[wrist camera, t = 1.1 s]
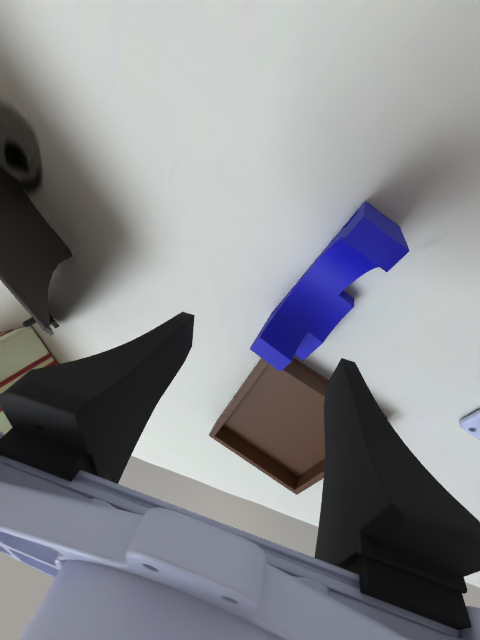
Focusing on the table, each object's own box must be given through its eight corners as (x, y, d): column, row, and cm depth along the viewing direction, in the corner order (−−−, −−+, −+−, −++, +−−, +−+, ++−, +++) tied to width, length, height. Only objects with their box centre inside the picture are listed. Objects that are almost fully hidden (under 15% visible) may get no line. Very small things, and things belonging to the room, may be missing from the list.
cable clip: (309, 342, 27) (295, 383, 22) (271, 313, 27) (249, 348, 22) (417, 239, 19) (432, 268, 15) (365, 200, 19) (363, 216, 15)
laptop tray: (-6, 178, 40) (-84, 203, 36) (-77, 18, 20) (-269, 29, 16) (98, 311, 46) (42, 346, 41) (121, 285, 26) (18, 346, 22)
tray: (387, 417, 27) (388, 437, 25) (300, 477, 37) (296, 495, 35) (271, 343, 28) (264, 357, 26) (216, 421, 38) (208, 435, 36)
